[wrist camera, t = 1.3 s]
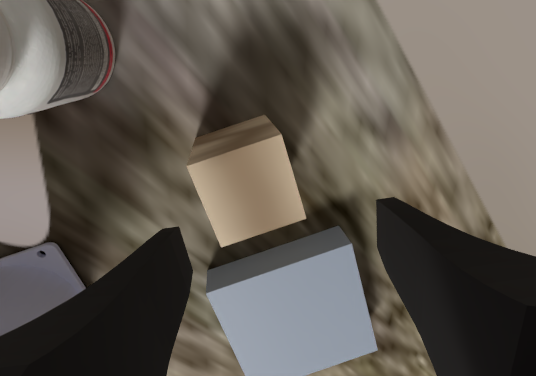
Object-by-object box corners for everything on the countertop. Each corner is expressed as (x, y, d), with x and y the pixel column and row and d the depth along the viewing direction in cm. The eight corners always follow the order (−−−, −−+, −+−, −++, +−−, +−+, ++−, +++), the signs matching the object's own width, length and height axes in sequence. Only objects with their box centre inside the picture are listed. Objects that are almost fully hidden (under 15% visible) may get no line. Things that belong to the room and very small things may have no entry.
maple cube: (220, 200, 22) (221, 247, 17) (195, 137, 20) (186, 166, 15) (284, 179, 22) (306, 218, 17) (264, 114, 20) (281, 134, 15)
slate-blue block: (250, 360, 28) (253, 393, 25) (207, 266, 24) (206, 293, 21) (362, 321, 28) (377, 350, 25) (336, 222, 24) (351, 243, 22)
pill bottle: (69, -32, 17) (-111, -144, 8) (138, 67, 19) (60, 73, 10) (-17, 26, 17) (-289, -13, 8) (59, 117, 19) (-87, 169, 10)
